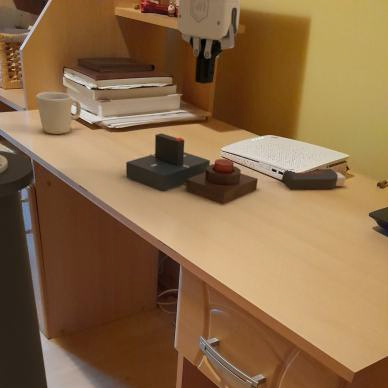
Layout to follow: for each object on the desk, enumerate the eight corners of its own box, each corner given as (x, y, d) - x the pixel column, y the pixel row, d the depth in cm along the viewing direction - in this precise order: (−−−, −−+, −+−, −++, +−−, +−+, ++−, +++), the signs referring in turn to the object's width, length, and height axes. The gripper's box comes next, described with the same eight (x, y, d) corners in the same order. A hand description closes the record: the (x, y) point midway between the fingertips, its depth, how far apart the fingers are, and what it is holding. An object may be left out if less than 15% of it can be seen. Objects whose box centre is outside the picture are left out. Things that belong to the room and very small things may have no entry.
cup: (72, 124, 131) (70, 89, 126) (90, 131, 126) (88, 96, 121) (33, 129, 125) (29, 93, 120) (50, 137, 120) (47, 100, 115)
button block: (223, 204, 95) (225, 182, 92) (185, 190, 99) (186, 169, 97) (256, 189, 102) (259, 169, 99) (219, 177, 106) (221, 157, 104)
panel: (164, 191, 98) (164, 174, 96) (125, 177, 103) (125, 160, 101) (209, 174, 107) (210, 159, 105) (172, 162, 112) (172, 147, 110)
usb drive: (281, 180, 107) (283, 167, 105) (334, 180, 109) (337, 167, 108) (290, 189, 103) (292, 176, 101) (345, 189, 105) (348, 175, 104)
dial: (154, 157, 104) (155, 133, 101) (160, 156, 105) (161, 131, 102) (177, 165, 101) (178, 140, 98) (183, 163, 102) (184, 138, 99)
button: (225, 175, 96) (226, 166, 95) (210, 170, 98) (210, 161, 97) (236, 171, 99) (237, 162, 98) (221, 166, 100) (222, 157, 99)
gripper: (163, -51, 83) (159, 76, 94) (238, -44, 76) (224, 93, 87) (193, -48, 88) (186, 73, 99) (266, -41, 80) (249, 88, 91)
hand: (204, 82), depth 93 cm, fingers closed
